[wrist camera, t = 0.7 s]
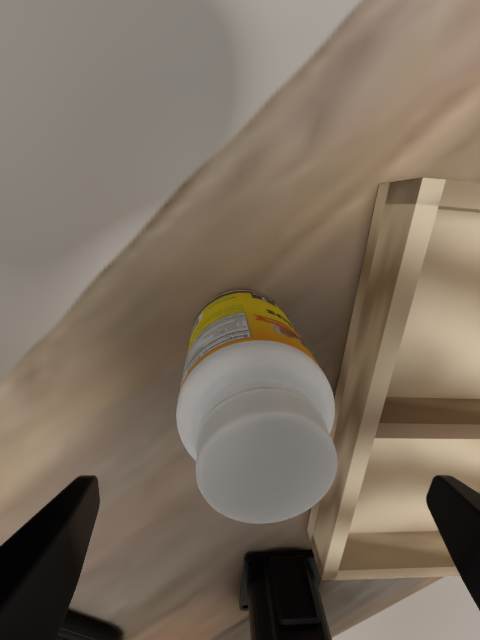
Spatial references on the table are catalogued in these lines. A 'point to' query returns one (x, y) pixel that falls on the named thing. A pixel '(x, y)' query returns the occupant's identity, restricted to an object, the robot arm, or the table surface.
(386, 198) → the wooden divided tray
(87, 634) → the carrying case or bag
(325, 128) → the table surface
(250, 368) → the supplement bottle
